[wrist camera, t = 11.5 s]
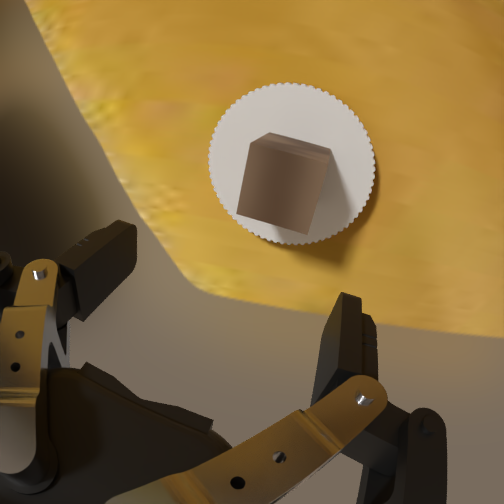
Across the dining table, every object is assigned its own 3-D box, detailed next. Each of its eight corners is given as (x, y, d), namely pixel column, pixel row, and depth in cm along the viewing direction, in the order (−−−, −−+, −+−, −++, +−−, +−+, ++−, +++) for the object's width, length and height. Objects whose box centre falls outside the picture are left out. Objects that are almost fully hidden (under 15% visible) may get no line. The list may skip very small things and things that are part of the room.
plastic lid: (227, 74, 25) (217, 72, 23) (387, 104, 23) (392, 105, 21) (212, 215, 32) (202, 225, 30) (350, 248, 30) (350, 261, 28)
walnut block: (330, 148, 24) (328, 164, 19) (314, 205, 26) (307, 235, 21) (269, 132, 24) (250, 143, 19) (257, 188, 27) (236, 214, 22)
